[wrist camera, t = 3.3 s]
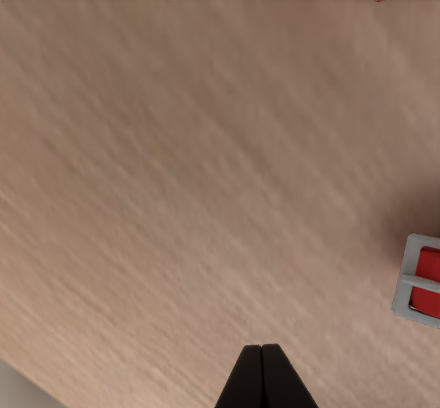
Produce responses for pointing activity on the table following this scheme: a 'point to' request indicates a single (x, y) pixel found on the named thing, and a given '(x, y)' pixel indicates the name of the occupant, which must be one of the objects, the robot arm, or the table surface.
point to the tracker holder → (419, 281)
